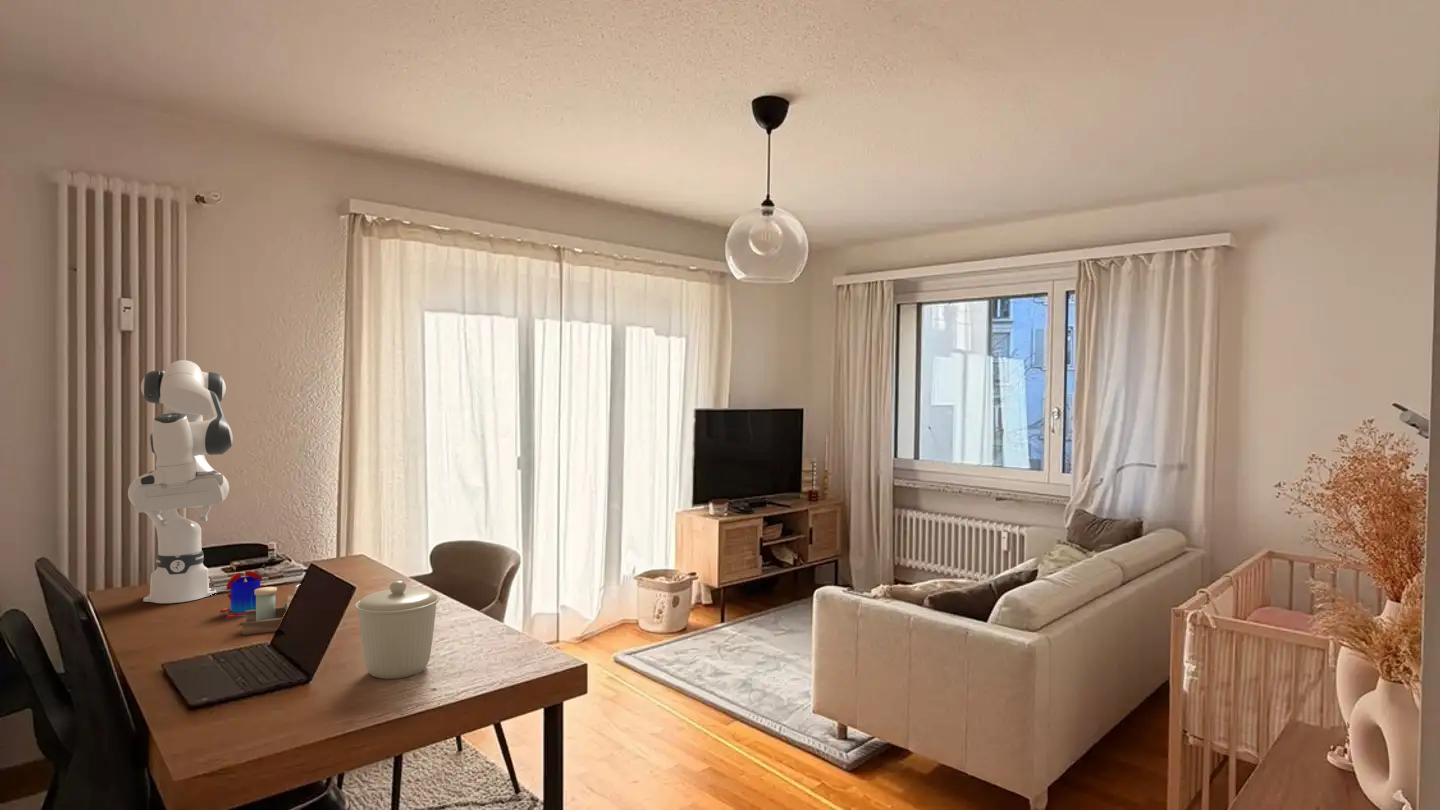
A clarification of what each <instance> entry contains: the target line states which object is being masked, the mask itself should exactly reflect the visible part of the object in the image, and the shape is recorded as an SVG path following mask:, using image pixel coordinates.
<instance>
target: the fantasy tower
mask: <svg viewBox="0 0 1440 810" xmlns="http://www.w3.org/2000/svg"><path fill="white" fill-rule="evenodd" d="M244 572H245V573H244V575H245V576H243V577H242V575H241V573H240V572H238V573H236V574H234V575H233V576H232V577H230V579H229V580H228V582H227V584H226V587H225V588H226V591H229V590H230V593H229V594H227V598H229V600H230V601H229V602H230V605H229V606H230V607H226V608H223V609H221V610H220V611H219V613H221V612H222V613H223V614H226V616H225V618H224V619H225V620H233V619H236V618H240V617H246V611H247V610H256V595H254V590H255V589H258V588H263V587H264V586H265V585H264V584H261V581H263V580H264V579H263V578H262V576H261V575H260V574H259V573H258V572H255V571H252V570H245V571H244Z"/></svg>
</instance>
